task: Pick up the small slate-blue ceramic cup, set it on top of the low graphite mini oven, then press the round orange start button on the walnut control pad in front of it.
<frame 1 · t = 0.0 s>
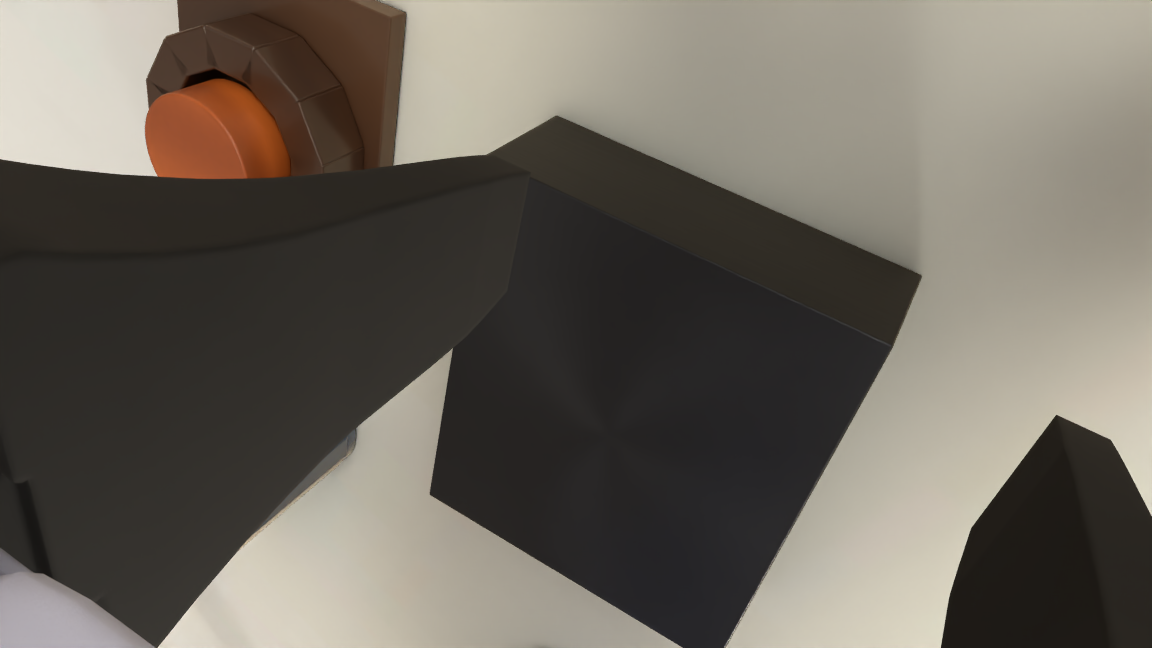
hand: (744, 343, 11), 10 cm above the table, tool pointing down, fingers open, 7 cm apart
start button: (218, 154, 26), point 3 cm above the table, slide at 0.1 cm
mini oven: (663, 369, 25), on the table
cup: (308, 409, 35), on the table
control pad: (292, 125, 28), on the table
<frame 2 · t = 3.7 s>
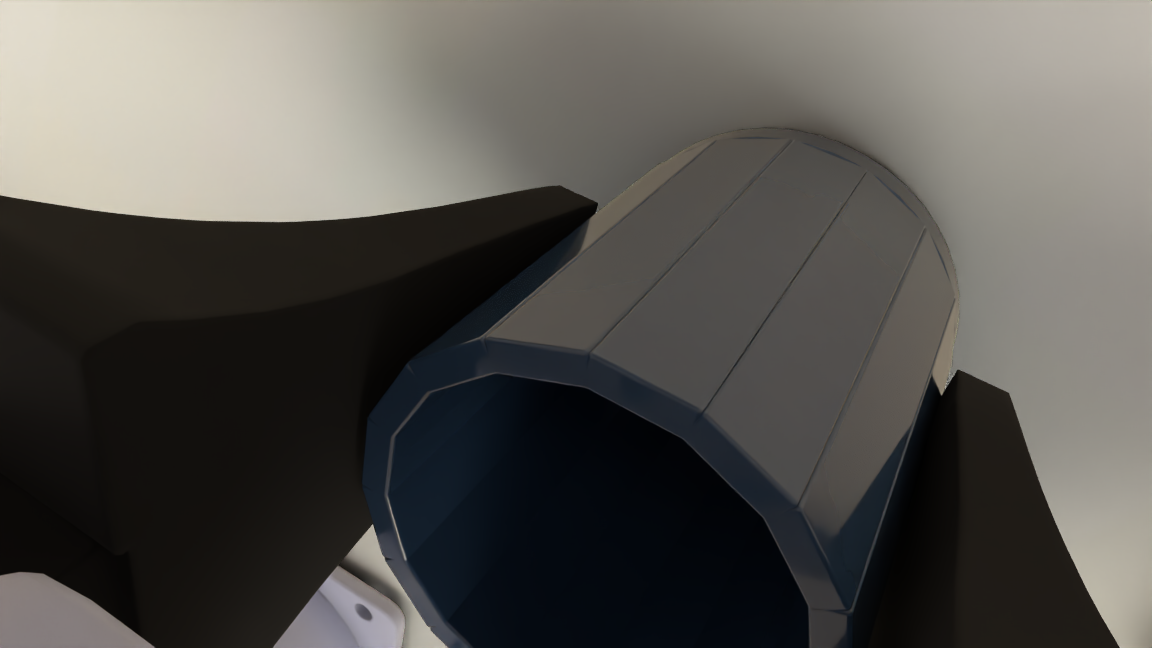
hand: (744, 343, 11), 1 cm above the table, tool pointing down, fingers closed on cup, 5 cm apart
cup: (774, 295, 12), on the table, touching gripper
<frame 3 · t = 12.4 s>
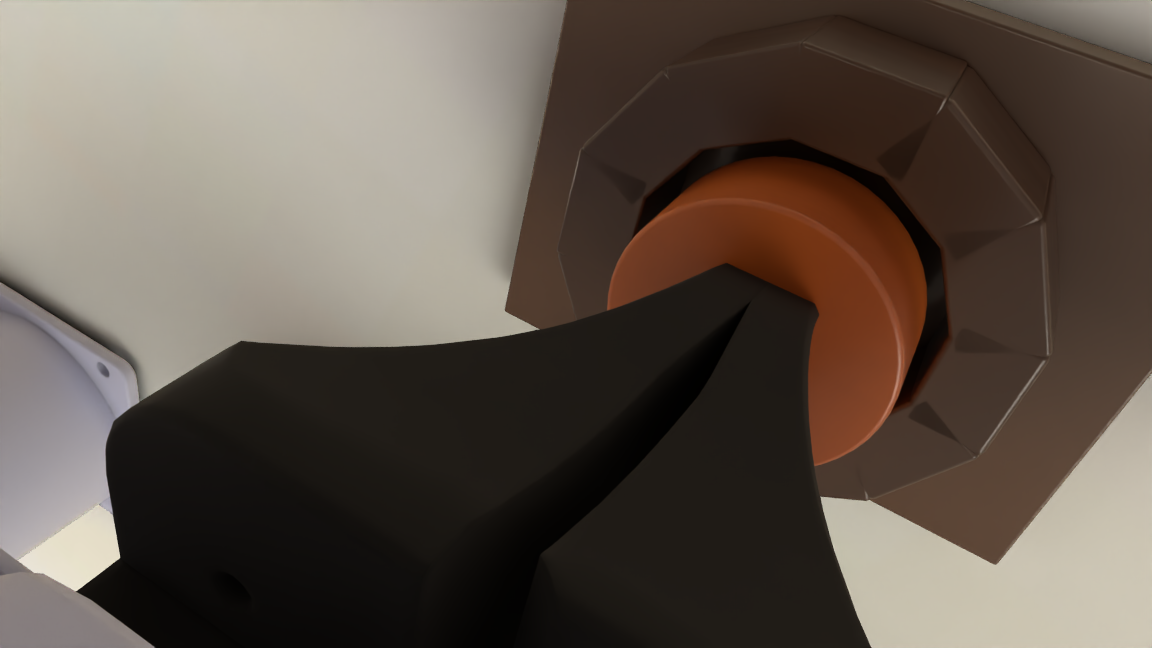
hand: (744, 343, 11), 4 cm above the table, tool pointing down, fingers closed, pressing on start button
start button: (763, 315, 12), point 3 cm above the table, slide at 0.1 cm, touching gripper
control pad: (819, 233, 14), on the table
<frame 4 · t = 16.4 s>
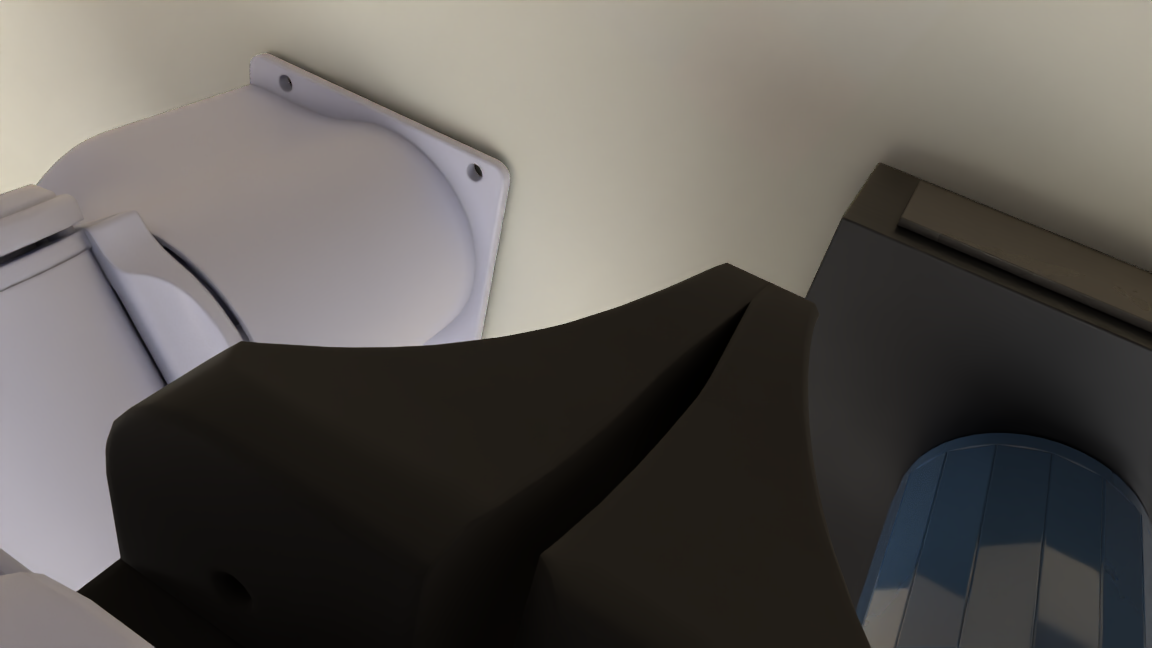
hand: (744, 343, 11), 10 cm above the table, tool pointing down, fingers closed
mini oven: (1029, 439, 21), on the table
cup: (1015, 528, 18), point 3 cm above the table, touching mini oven
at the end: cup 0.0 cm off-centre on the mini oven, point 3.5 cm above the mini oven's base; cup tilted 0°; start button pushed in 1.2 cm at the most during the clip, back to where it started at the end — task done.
